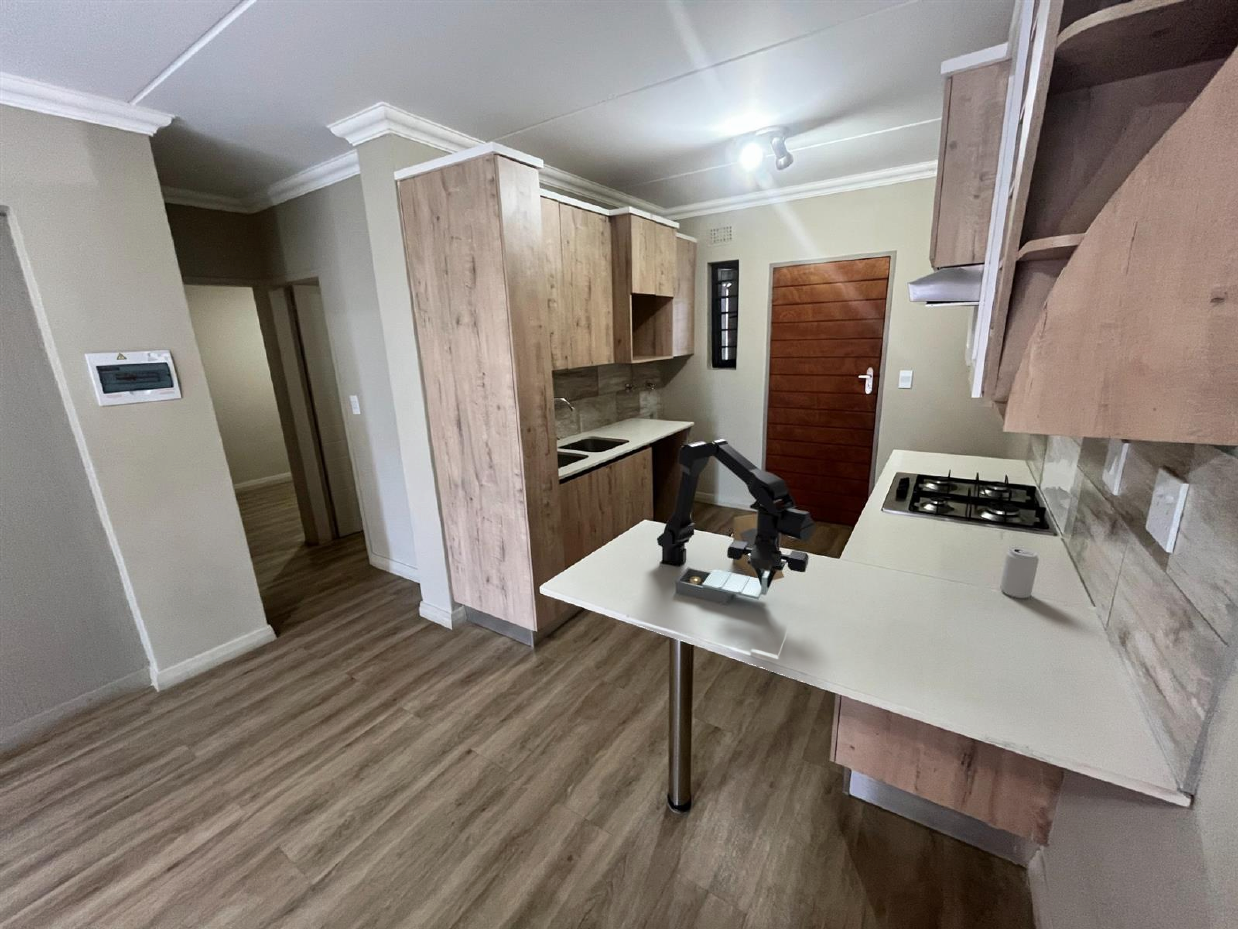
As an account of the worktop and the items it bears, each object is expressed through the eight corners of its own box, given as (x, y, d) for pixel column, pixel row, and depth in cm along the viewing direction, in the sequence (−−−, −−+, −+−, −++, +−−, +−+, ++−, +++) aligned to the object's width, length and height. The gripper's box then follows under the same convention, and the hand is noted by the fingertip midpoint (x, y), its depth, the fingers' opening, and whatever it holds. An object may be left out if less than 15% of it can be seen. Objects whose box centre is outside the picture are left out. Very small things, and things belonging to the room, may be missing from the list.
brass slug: (687, 590, 131) (688, 580, 130) (691, 585, 133) (692, 575, 132) (698, 593, 129) (698, 582, 128) (702, 588, 132) (702, 578, 131)
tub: (675, 594, 130) (675, 581, 129) (687, 580, 137) (688, 567, 136) (726, 607, 123) (727, 593, 122) (736, 591, 131) (737, 577, 130)
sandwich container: (760, 586, 133) (763, 536, 129) (731, 563, 147) (733, 517, 144) (787, 580, 136) (790, 531, 132) (755, 558, 150) (758, 513, 146)
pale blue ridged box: (702, 586, 125) (702, 570, 124) (713, 571, 133) (714, 555, 132) (763, 600, 118) (764, 583, 116) (771, 583, 126) (772, 567, 124)
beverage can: (1001, 584, 130) (1009, 544, 127) (1032, 593, 126) (1041, 551, 123) (997, 593, 126) (1005, 551, 123) (1028, 602, 121) (1038, 559, 118)
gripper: (721, 534, 115) (719, 592, 119) (803, 548, 106) (798, 611, 110) (734, 518, 125) (732, 573, 129) (811, 530, 116) (806, 589, 120)
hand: (765, 586), depth 122 cm, fingers closed on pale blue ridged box
